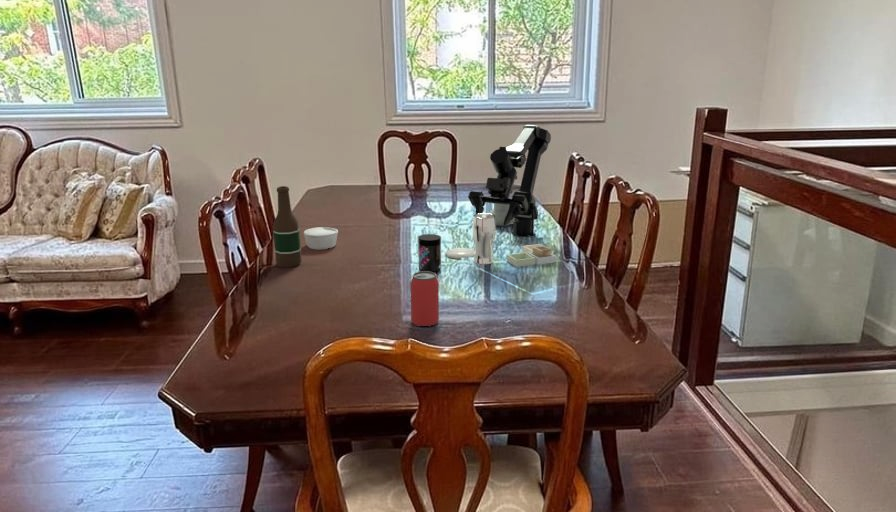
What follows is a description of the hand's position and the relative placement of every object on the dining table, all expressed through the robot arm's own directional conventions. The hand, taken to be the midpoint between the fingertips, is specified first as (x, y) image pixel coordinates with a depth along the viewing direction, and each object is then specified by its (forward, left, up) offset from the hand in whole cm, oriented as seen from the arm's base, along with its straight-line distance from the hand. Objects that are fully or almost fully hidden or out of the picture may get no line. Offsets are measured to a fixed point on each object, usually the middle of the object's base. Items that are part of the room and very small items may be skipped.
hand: (490, 223), depth 190 cm
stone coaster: (+7, -7, -11) cm, 15 cm away
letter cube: (-13, +9, -11) cm, 20 cm away
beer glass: (+4, +3, -12) cm, 13 cm away
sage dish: (-6, +9, -11) cm, 16 cm away
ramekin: (+47, -34, -12) cm, 59 cm away
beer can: (+36, +39, -12) cm, 54 cm away
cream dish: (-15, +2, -11) cm, 19 cm away
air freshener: (-22, -37, -12) cm, 45 cm away
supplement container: (+22, +4, -12) cm, 25 cm away
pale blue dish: (-13, +9, -11) cm, 20 cm away
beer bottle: (+60, -18, -12) cm, 63 cm away
